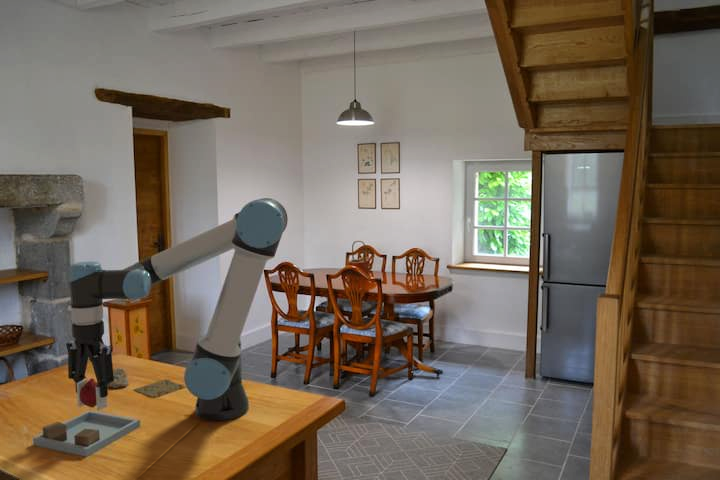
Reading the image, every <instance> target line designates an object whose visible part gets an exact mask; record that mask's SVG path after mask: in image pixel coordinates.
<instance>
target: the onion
mask: <svg viewBox="0 0 720 480" xmlns="http://www.w3.org/2000/svg"><path fill="white" fill-rule="evenodd" d="M96 385H98V383H97V381H95V378H94V377H90V378H89V380H87V383H86V384H85V385H84V386H83V387H82V389H81V391H80V400H81V402H82V403H83V404H84V405H83V406H86V407H89V408H95V407H97V404H96Z"/></svg>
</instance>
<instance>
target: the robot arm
mask: <svg viewBox="0 0 720 480" xmlns="http://www.w3.org/2000/svg"><path fill="white" fill-rule="evenodd" d="M287 213H288V212H287V211H286V209H285V207H284V205H282V204H281V202H280V201H278V200H275V199H273V198H268V197H267V198H259V199H255V200H254V199H253V200H252V201H250V202H248V203H246V204H245V205H244V206H243V207H242V208H241V210H239V212H238V213H235V214H234V215H233V218H232V219H231V220H228V221H226V222H224V223H221V224H219V225H217V226H214V227H213V228H211V229H209V230H207V231H204V232H202V233H200V234H197V235H196V236H193V237H191V238H189V239H187V240H184V241H181V242H180V243H177V244H176V245H174V246H171V247H169V248H167V249H165V250H163V251H160V252H158V253H156V254H154V255H152V256H150V257H147V258H145V259H142V260H140V261H138V262H136V263H134V264H131V265H129V266H128V267H125V268H124V269H103V268H102V265H101V262H98V261H79V262H75V263H72V264H71V265H70V266H69V270H68V271H69V274H68V276H69V277H68V284H69V293H70V295H69V296H70V315H71V318H70V319H71V320H70V321H71V322H72V324H71V334H72V337H73V339H74V340H72V341H69V342H67V343H65V346H66V349H67V361H68V362H67V365H68V366H67V369H68V370H67V374H68V375H67V376H68V379H69V380H73V382H74V383H75V384H74V386H75V392H76V395H77V407H79V408H81V407H83V406H85V405H84V404H83V403H82V402H81V400H80V391H81V389H82V387H83V386H84V385H85V384H86V383H87V382H88V379H87V376H86V372H87V367H88V366H87V365H88V361H89V362H91V364H92V367H93V371H94V375H95V378H96V382H97V383H98V385H96V404H97V405H96V411H97V412H100V411H101V410H102V411H103V410H104V409H105V408H108V404H107V403H108V400H107V398H108V395H109V391H108V387H109V386H107V385H108V384H109V383H111V382H113V381H114V376H113V369H114V367H113V358H112V357H113V355H112V354H113V346H112V345H111V344H110V345H106V344H105V343H104V341H103V335H104V334H105V324H104V320H103V319H104V306H103V303H104V302H103V301H104V300H138V299H145V298H147V297H148V296H150V295H149V294H150V292H151V289H152V286H154V285H157V284H159V283H161V282H163V281H165V280H167V279H169V278H171V277H175V276H176V275H178V274H180V273H183V272H184V271H187V270H189V269H191V268H194V267H196V266H198V265H200V264H203V263H205V262H207V261H209V260H211V259H214V258H217V257H218V256H220V255H222V254H225V253H227V252H229V251H232V250H234V252H233V256H232V259H231V261H230V264H229V267H228V269H227V270H228V271H227V272H226V273H227V274H226V276H225V278H224V281H223V285H222V288H221V291H220V294H219V296H218V300H217V302H216V305H215V308H214V311H213V314H212V317H211V321H210V322H209V326H208V329H207V331H206V333H204V334H202V335H200V337H199V338H198V340H197V343H196V345H195V349H194V352H193V354H192V357H191V360H190V362H189V364H187V366H186V368H185V370H184V375H183V380H184V385H185V387H186V389H187V390H188V391H189V393H191V395H192V396H194V397H196V398H197V399H196V402H195V415H196V417H198V418H199V419H200V420H204V421H210V422H211V421H212V422H219V421H227V420H233V419H237V418H239V417H241V416H244V415H245V414H246V413H247V412H248V411H249V405H250V404H249V401H250V400H249V399H248V396H247V393H246V390H245V388H244V385H243V381H242V379H243V378H242V377H243V375H242V373H243V372H242V341H241V337H242V333H243V330H244V327H245V325H246V321H247V319H248V316H249V312H250V310H251V307H252V304H253V302H254V299H255V295H256V293H257V290H258V288H259V285H260V281H261V278H262V275H263V273H264V270H265V267H266V264H267V263H268V261H269V260H272V259H273V258H275V256H276V253H277V251H278V248H279V245H280V241H281V239H282V235H283V233H284V232H285V230H286V228H287V226H288V221H289V220H288V214H287ZM102 380H103V381H102Z"/></svg>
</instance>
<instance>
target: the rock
mask: <svg viewBox="0 0 720 480" xmlns="http://www.w3.org/2000/svg"><path fill="white" fill-rule="evenodd" d="M113 376H114V381H113V382H111V383H109V384H108V385H107V387H109V388H114V389H116V388H121V387H127V386H129V385H130V383H129V381H128V377H127V376H128V375H127V371H126V370H125V369H124V368H113ZM102 381H103V380H102Z"/></svg>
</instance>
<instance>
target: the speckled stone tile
mask: <svg viewBox="0 0 720 480" xmlns="http://www.w3.org/2000/svg"><path fill="white" fill-rule="evenodd" d="M185 388H186V389H187V387H186V385H185V386H184V385H183V384H181V383H176V382H174V381H172V380H170V379H163V380H159V381H155V382H153V383H150V384H147V385H143V386H140V387H137V388H133V389H132V391H134V392H137V393H138V394H142V395H144V396H146V397H148V398H151V399H157V398H160V397H162V396H165V395H168V394H170V393H174V392H177V391H179V390H183V389H185Z"/></svg>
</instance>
